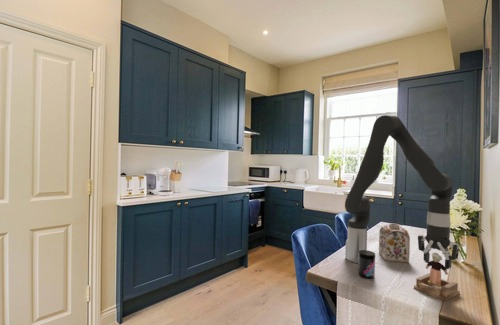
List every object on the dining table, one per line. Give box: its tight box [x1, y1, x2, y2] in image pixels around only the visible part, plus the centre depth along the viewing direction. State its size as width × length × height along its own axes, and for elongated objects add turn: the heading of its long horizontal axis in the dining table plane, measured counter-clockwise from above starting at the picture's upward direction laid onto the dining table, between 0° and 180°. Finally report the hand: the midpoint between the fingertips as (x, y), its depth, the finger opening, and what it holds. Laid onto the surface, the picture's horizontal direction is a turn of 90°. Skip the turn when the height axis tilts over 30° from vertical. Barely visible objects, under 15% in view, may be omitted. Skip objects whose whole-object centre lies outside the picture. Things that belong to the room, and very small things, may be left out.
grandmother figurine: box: [425, 252, 449, 287], centre depth 104 cm, size 8×4×13 cm, turn 45°
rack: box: [413, 272, 461, 302], centre depth 104 cm, size 11×12×4 cm
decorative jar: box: [378, 222, 411, 263], centre depth 139 cm, size 12×12×18 cm
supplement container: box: [357, 249, 376, 280], centre depth 116 cm, size 7×7×10 cm
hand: (436, 265), depth 104 cm, fingers closed on grandmother figurine, 6 cm apart
